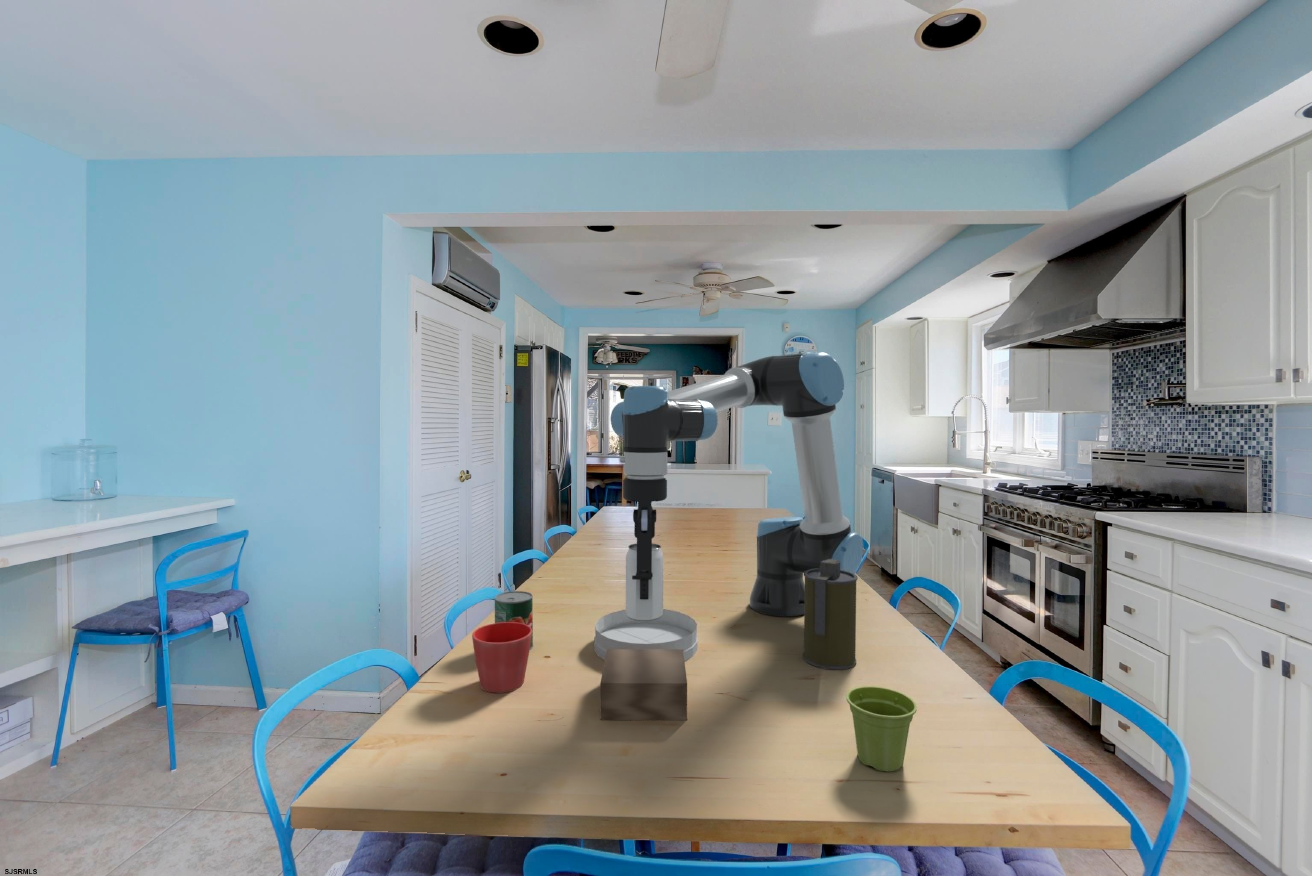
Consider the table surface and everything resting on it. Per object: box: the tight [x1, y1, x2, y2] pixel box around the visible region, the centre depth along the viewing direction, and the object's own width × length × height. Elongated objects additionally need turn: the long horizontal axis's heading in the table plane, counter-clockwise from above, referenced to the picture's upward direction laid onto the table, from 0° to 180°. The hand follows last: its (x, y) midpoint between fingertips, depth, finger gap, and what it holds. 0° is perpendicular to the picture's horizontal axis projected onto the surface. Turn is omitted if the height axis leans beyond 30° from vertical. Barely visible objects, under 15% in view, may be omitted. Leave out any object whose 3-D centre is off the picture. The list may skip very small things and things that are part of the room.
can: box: [625, 542, 664, 621], centre depth 102 cm, size 6×6×12 cm
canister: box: [802, 559, 858, 671], centre depth 120 cm, size 11×10×20 cm
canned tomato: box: [494, 590, 534, 650], centre depth 125 cm, size 8×8×11 cm
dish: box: [593, 608, 699, 662], centre depth 127 cm, size 22×22×5 cm
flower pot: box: [471, 622, 532, 694], centre depth 108 cm, size 11×11×10 cm
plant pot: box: [845, 685, 918, 772], centre depth 85 cm, size 9×9×9 cm
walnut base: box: [599, 649, 688, 721], centre depth 103 cm, size 14×14×6 cm
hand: (644, 610), depth 102 cm, fingers closed on can, 6 cm apart
